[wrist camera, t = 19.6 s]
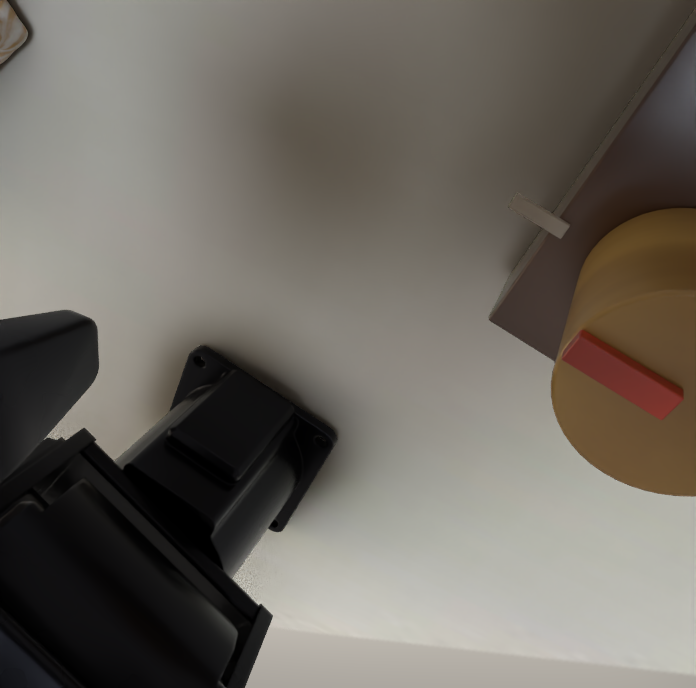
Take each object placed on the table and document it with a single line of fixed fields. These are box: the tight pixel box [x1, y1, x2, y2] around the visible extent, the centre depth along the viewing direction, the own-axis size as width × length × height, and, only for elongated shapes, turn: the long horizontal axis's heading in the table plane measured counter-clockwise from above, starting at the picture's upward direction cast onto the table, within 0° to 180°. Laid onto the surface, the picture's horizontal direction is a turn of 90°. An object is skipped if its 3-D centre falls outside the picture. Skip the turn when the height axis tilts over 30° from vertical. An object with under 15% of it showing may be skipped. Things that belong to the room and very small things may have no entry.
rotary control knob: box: [551, 208, 696, 496], centre depth 12 cm, size 4×4×5 cm
